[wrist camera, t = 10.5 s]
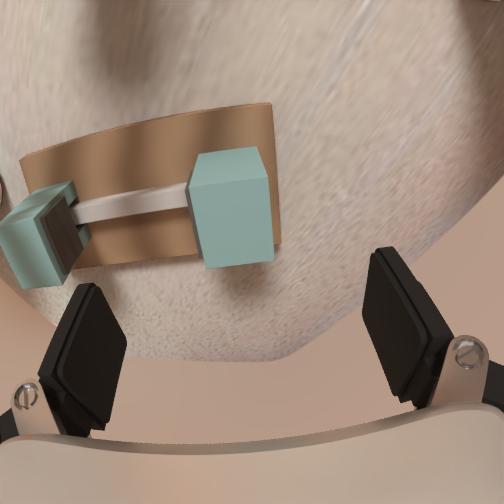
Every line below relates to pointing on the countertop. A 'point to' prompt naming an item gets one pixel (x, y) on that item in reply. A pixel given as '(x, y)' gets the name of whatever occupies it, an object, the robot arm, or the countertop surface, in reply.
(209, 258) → the mint green block
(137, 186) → the rail
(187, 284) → the countertop surface
